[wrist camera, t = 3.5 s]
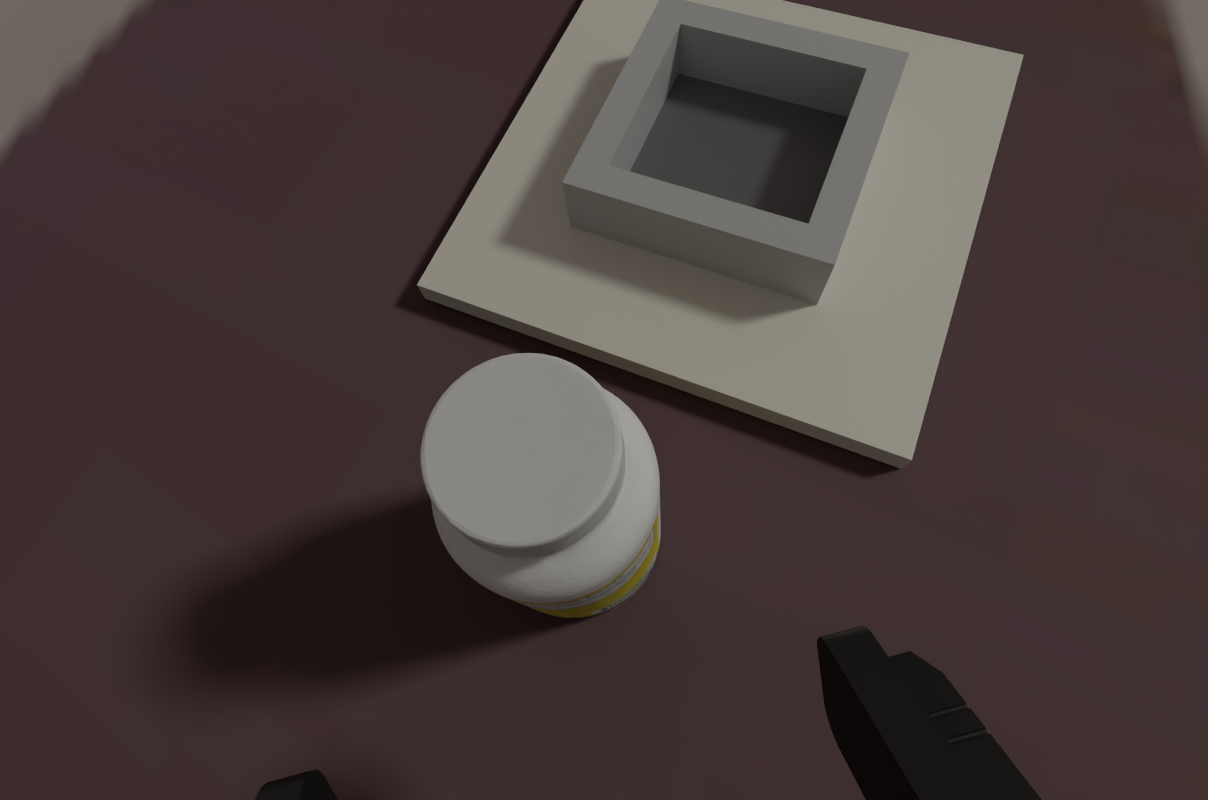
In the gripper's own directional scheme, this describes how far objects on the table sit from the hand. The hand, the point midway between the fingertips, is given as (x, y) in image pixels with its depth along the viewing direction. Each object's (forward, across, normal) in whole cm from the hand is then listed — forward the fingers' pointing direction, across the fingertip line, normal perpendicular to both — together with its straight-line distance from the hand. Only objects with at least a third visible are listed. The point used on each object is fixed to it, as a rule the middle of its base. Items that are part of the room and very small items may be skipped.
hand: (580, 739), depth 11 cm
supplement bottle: (+11, 0, +4) cm, 12 cm away
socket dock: (+19, -9, -5) cm, 22 cm away
